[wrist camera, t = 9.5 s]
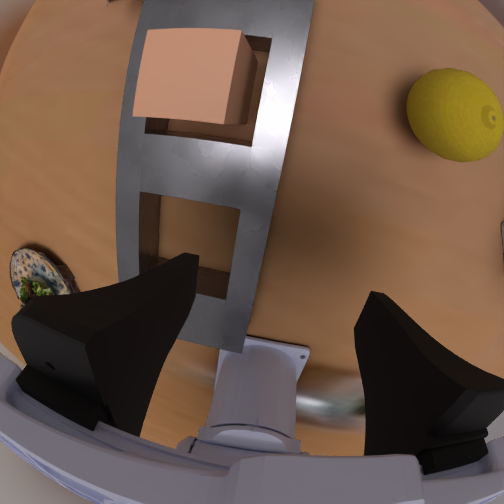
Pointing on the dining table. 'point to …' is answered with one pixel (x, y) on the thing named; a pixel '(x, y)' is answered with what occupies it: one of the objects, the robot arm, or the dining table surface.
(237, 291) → the grey slotted board
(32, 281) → the burger
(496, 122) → the lemon
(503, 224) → the coffee box
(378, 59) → the dining table surface
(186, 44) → the peg
